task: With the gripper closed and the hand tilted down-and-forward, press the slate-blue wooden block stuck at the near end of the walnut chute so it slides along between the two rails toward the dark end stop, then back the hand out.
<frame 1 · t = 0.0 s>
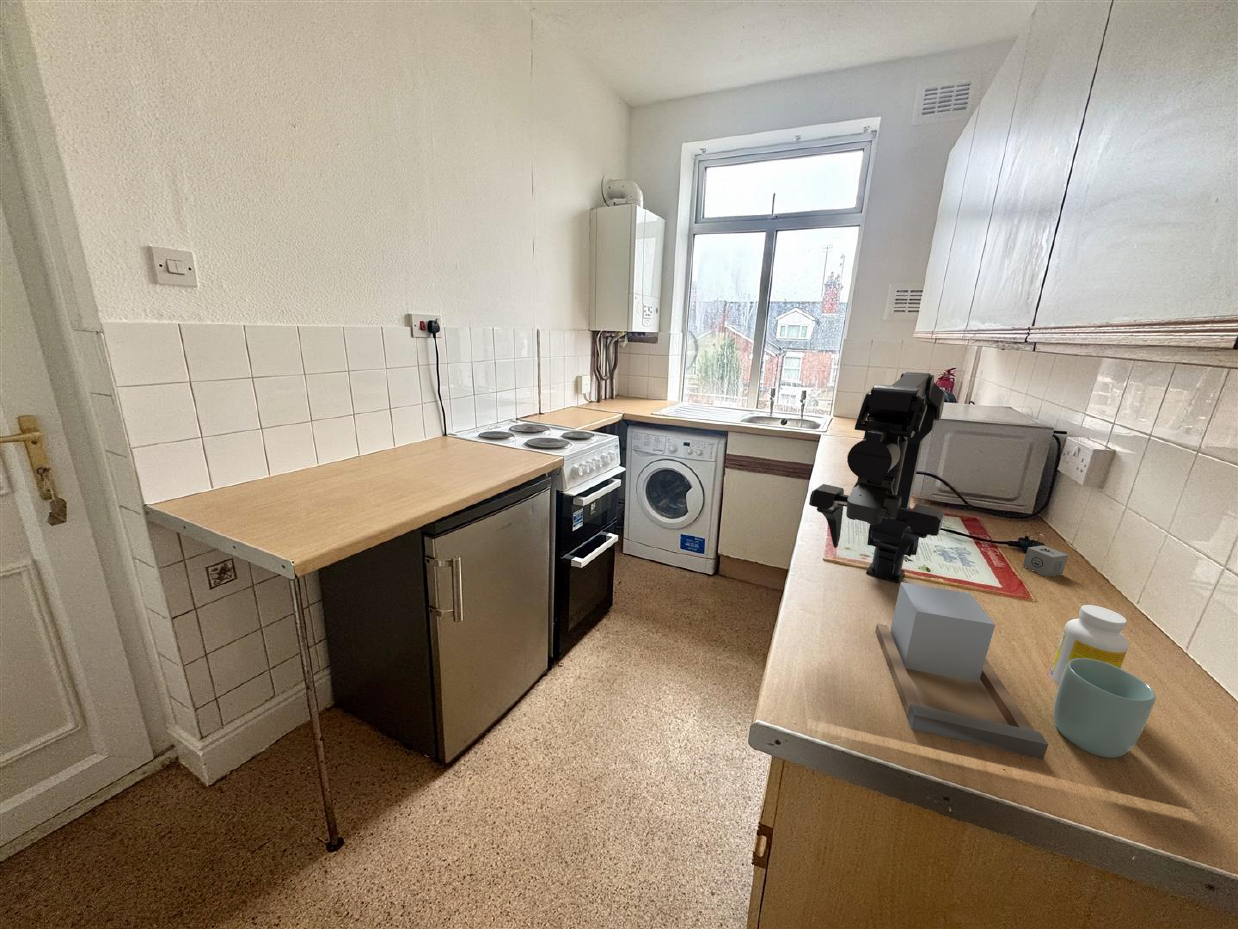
hand: (864, 555, 79), 15 cm above the counter, tool pointing down, fingers open, 9 cm apart
supplement bottle: (1077, 689, 71), on the counter
chute: (943, 688, 70), on the counter
cup: (1085, 744, 61), on the counter
block: (930, 656, 76), point 1 cm above the counter, touching chute
dice cube: (1041, 571, 108), on the counter
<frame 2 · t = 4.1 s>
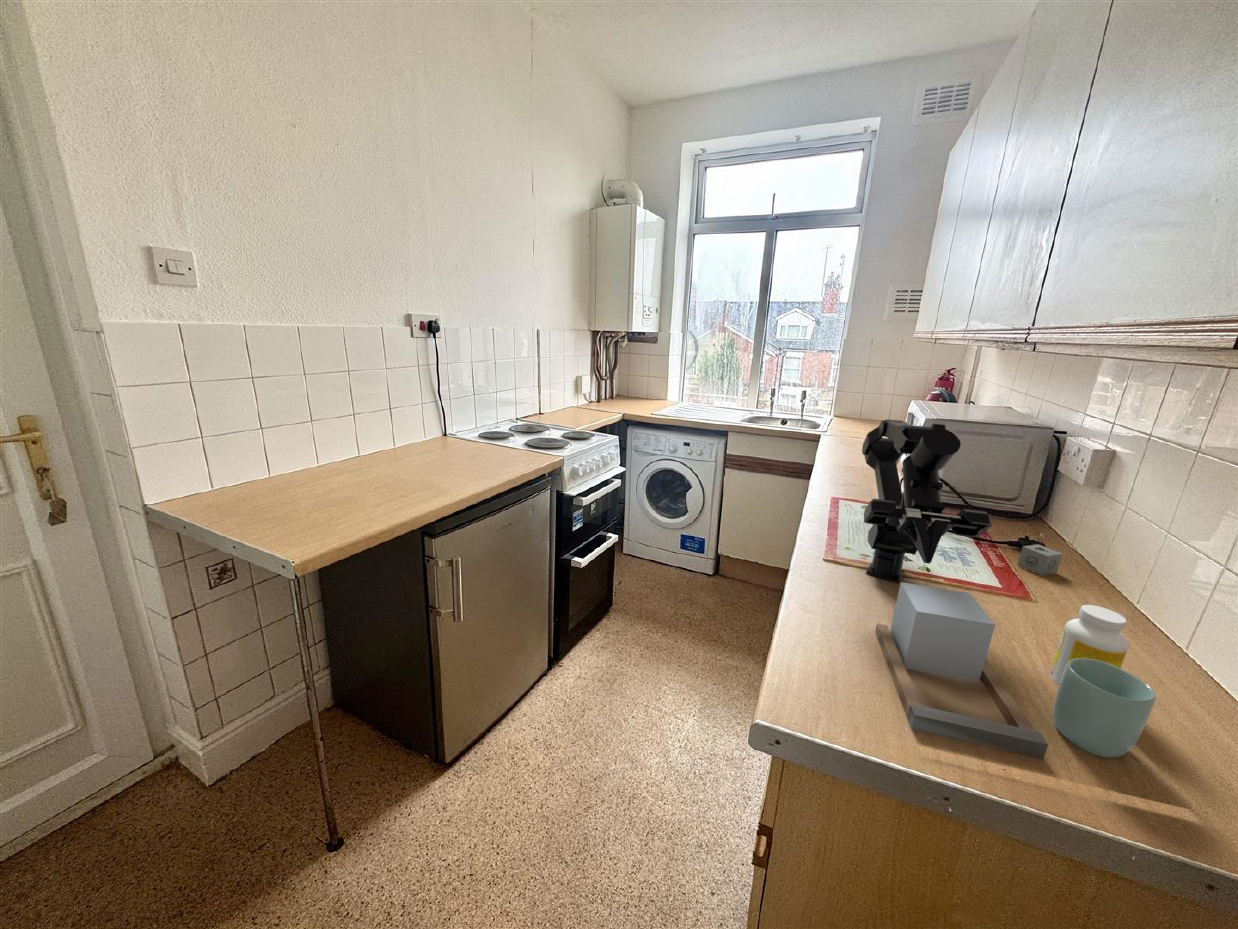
hand: (927, 562, 81), 13 cm above the counter, tool tilted 45°, fingers closed
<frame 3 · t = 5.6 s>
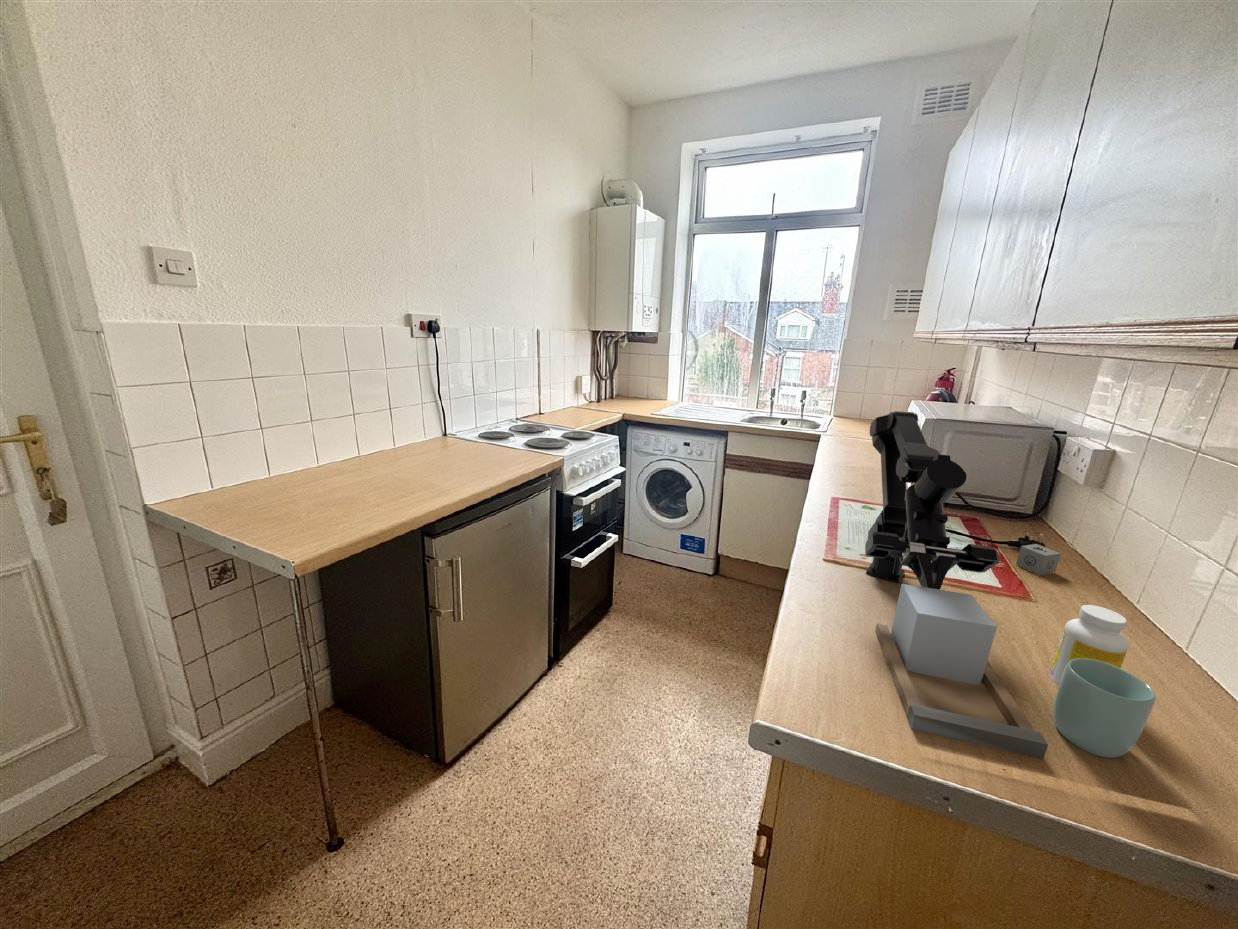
hand: (932, 600, 78), 9 cm above the counter, tool tilted 45°, fingers closed, pressing on block
block: (931, 658, 75), point 1 cm above the counter, touching chute, gripper
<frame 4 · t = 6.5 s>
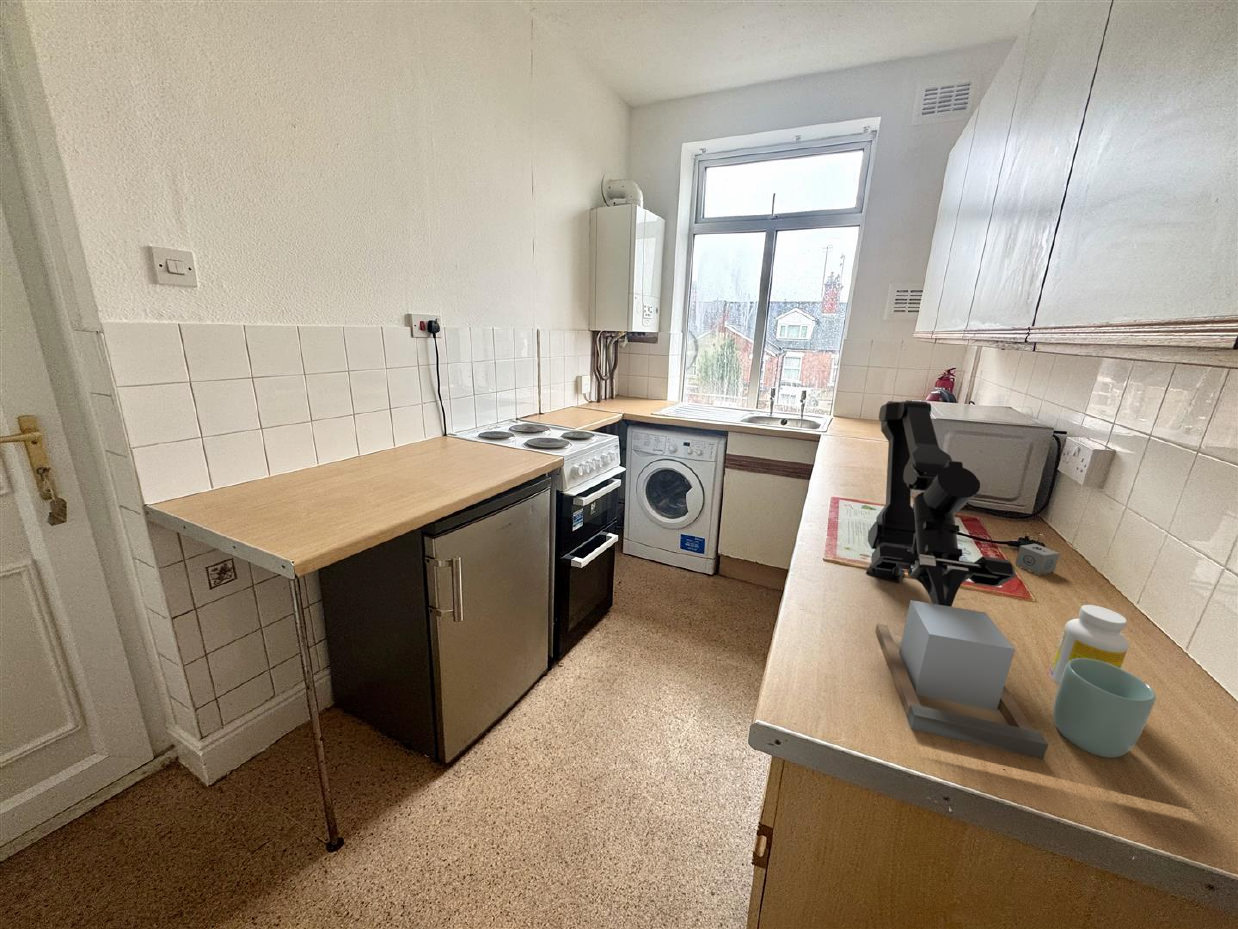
hand: (943, 617, 73), 9 cm above the counter, tool tilted 45°, fingers closed, pressing on block
block: (943, 681, 70), point 1 cm above the counter, touching chute, gripper
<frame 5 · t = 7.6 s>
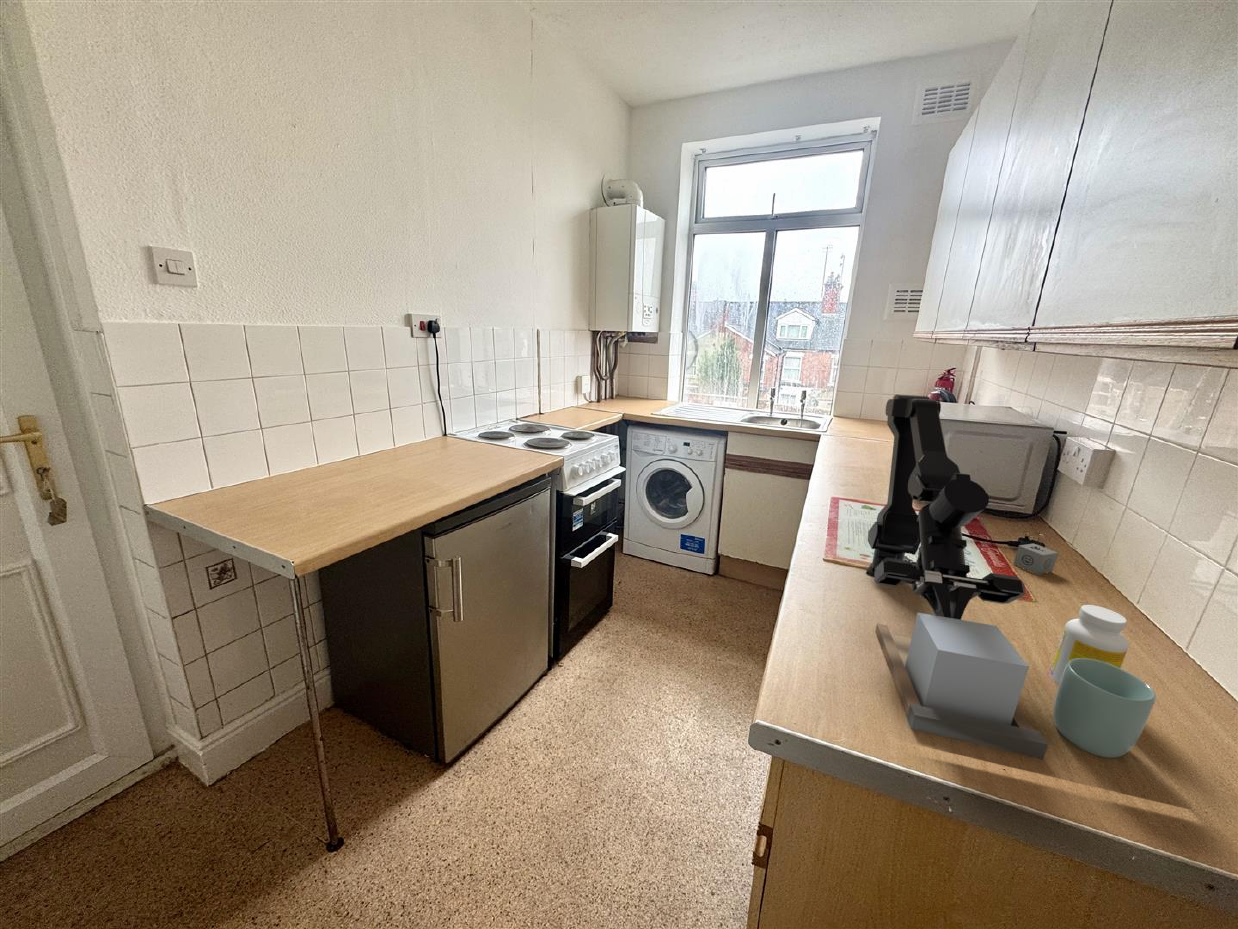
hand: (950, 636, 70), 8 cm above the counter, tool tilted 45°, fingers closed, pressing on block
block: (952, 697, 67), point 1 cm above the counter, touching chute, gripper
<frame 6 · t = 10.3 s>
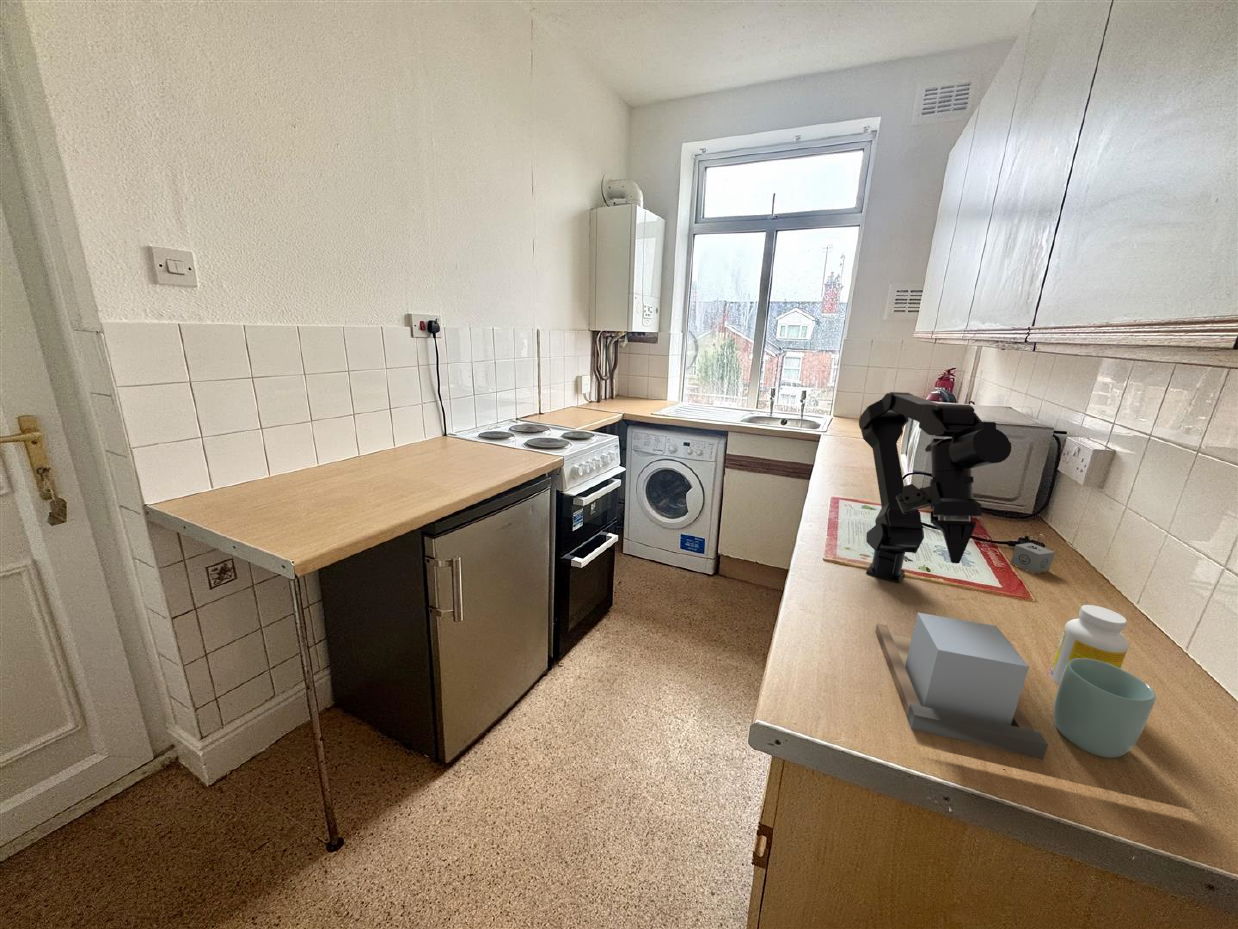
hand: (955, 563, 81), 13 cm above the counter, tool tilted 25°, fingers closed
block: (952, 698, 67), point 1 cm above the counter, touching chute
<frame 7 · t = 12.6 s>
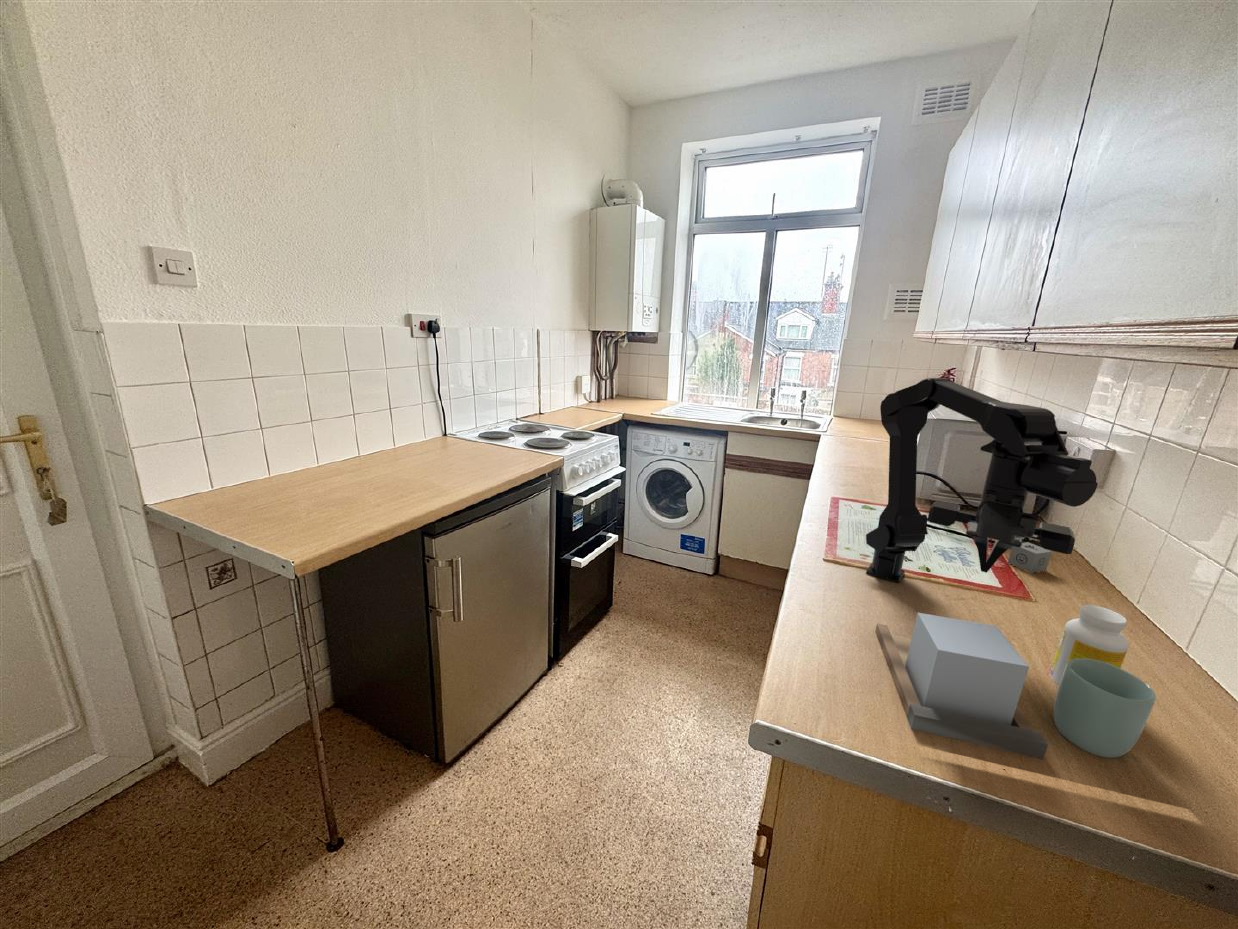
hand: (984, 571, 81), 12 cm above the counter, tool pointing down, fingers closed
at the end: block inside the target area (0.3 cm from its centre), point 0.8 cm above the counter; block tilted 0°; block moved 9.4 cm from its start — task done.
